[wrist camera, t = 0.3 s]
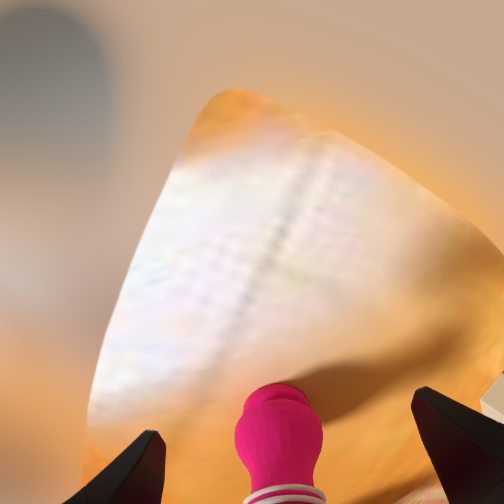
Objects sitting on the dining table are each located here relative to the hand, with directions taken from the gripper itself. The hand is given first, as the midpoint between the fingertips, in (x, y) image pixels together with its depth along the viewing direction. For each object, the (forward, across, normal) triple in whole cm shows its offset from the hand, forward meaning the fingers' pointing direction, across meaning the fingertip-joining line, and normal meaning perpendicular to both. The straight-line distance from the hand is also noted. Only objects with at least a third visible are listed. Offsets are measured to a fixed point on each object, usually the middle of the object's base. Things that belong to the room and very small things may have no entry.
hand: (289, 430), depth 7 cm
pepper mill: (+13, +1, +13) cm, 18 cm away
